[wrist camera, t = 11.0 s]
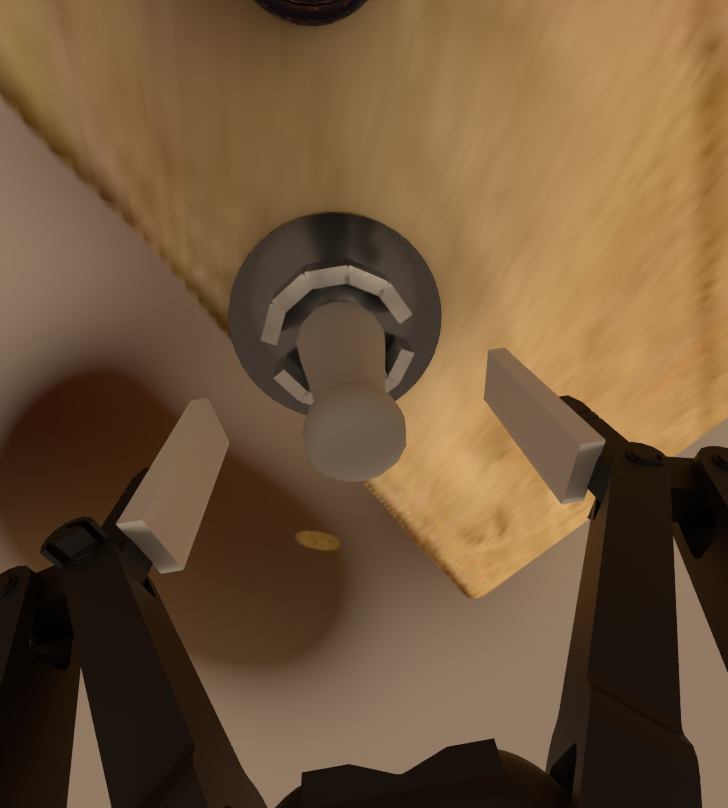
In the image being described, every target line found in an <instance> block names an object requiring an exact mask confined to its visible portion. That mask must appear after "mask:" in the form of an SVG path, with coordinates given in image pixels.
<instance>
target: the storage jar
mask: <svg viewBox="0 0 728 808" xmlns="http://www.w3.org/2000/svg"><path fill="white" fill-rule="evenodd" d="M253 1H254V2H256V3H257V4H258V5H259V6H261V7H262V8H263V9H265V10H266V11H267V12H269V13H271V14H273V15H275V16H277V17H279V18H280V19H282V20H285V21H288V22H292V23H295V24H298V25H308V26H319V25H325V24H331V23H334V22H336V21H339V20H341V19H344V18H346V17H347V16H349V15H350V14H352V13H353V12H355V11H356V10H358V9H359V8H360V7H361V6H362V5H363V4H364V3H365V2H366V1H367V0H253Z"/></svg>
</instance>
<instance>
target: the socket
mask: <svg viewBox="0 0 728 808" xmlns="http://www.w3.org/2000/svg"><path fill="white" fill-rule="evenodd" d="M332 301H349V302H356V303H358V304H359V305H361V306H362V307H364V308H366V309H367V310H369V311H370V312H372V313H373V314H374V315H375V317H376V318H377V320H378V321H379V323H380V325H381V326H382V328H383V329H384V335H385V391H386V392H387V393H389V394H390V395H391V397H392V398H393V399H394V401H396V400H397V399H399V398H400V397H401V396H402V395H404V394H405V393H406V392H407V391H408V390H409V389H410V388H411V387H412V386H413V385H414V384H415V383H416V382H417V381H418V380H419V378H420V377H421V376H422V375H423V373H424V372H425V370H426V368H427V367H428V365H429V363H430V361H431V359H432V357H433V355H434V353H435V349H436V346H437V343H438V340H439V334H440V329H441V304H440V298H439V293H438V289H437V286H436V283H435V280H434V278H433V275H432V273H431V271H430V269H429V268H428V266H427V264H426V262H425V261H424V259H423V258H422V257H421V255H420V254H419V253H418V251H417V250H416V249H415V248H414V247H413V246H412V245H411V244H410V243H409V242H408V241H407V240H406V239H405V238H403V237H402V236H401V235H400V234H398V233H397V232H396V231H394V230H392V229H391V228H389V227H387V226H385V225H383V224H382V223H380V222H378V221H375V220H373V219H370V218H367V217H365V216H360V215H356V214H351V213H342V212H326V213H316V214H312V215H308V216H304V217H300V218H298V219H295V220H293V221H291V222H288V223H286V224H284V225H283V226H281V227H279V228H278V229H276V230H274V231H273V232H272V233H270V234H269V235H268V236H267V237H266V238H264V239H263V240H262V241H261V242H260V243H259V244H258V245H257V246H256V247H255V248H254V249H253V251H252V252H251V253H250V254H249V255H248V257H247V258H246V260H245V261H244V263H243V265H242V266H241V268H240V270H239V272H238V274H237V277H236V279H235V281H234V285H233V288H232V292H231V296H230V303H229V328H230V334H231V339H232V342H233V346H234V349H235V352H236V354H237V356H238V358H239V360H240V363H241V364H242V366H243V368H244V369H245V371H246V372H247V374H248V375H249V376H250V378H251V379H252V380H253V381H254V383H255V384H256V385H257V386H258V387H259V388H260V389H261V390H262V391H263V392H264V393H266V394H267V395H268V396H270V397H271V398H272V399H274V400H275V401H277V402H278V403H280V404H282V405H283V406H285V407H287V408H290V409H292V410H294V411H296V412H299V413H303V414H306V415H307V414H308V411H309V408H310V406H311V404H312V403H313V402H314V400H313V397H312V394H311V391H310V387H309V384H308V381H307V378H306V375H305V372H304V369H303V367H302V364H301V361H300V357H299V353H298V349H297V345H296V341H297V337H298V334H299V331H300V327H301V324H302V323H303V322H304V320H305V319H306V318H307V317H308V316H309V315H310V314H311V312H312V311H313V310H314V309H315V308H316V307H318V306H321V305H324V304H327V303H330V302H332Z"/></svg>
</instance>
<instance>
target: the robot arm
mask: <svg viewBox="0 0 728 808" xmlns="http://www.w3.org/2000/svg"><path fill="white" fill-rule="evenodd" d="M484 400H485V401H486V403H487V404H488V405H489V407H490V408H491V409H492V411H493V412H494V414H495V415H496V416H497V418H498V419H499V420H500V422H501V423H502V424H503V426H504V427H505V428H506V430H507V431H508V432H509V434H510V435H511V437H512V438H513V439H514V441H515V442H516V443H517V445H518V446H519V447H520V449H521V450H522V451H523V453H524V454H525V456H526V457H527V458H528V460H529V461H530V462H531V464H532V465H533V466H534V468H535V469H536V470H537V472H538V473H539V475H540V476H541V477H542V479H543V480H544V481H545V483H546V484H547V485H548V487H549V488H550V489H551V491H552V492H553V494H554V495H555V496H556V498H557V499H558V500H559V502H560V503H561V504H567V503H572V502H578V501H583V500H584V498H585V495H586V492H587V490H588V489H589V490H590V491H591V493H592V494H593V495H594V496H595V497H596V498H595V501H594V503H593V506H592V508H591V511H590V513H589V516H588V519H591V521H590V526H589V533H588V539H587V545H586V551H585V557H584V564H583V569H582V575H581V581H580V587H579V593H578V600H577V605H576V612H575V618H574V624H573V630H572V636H571V643H570V648H569V654H568V660H567V666H566V672H565V678H564V684H563V691H562V697H561V704H560V709H559V714H558V719H557V723H556V726H555V729H554V732H553V735H552V740H551V744H550V749H549V754H548V759H547V765H546V771H545V772H544V771H543V770H542V769H540V768H539V767H537V766H536V765H534V764H533V763H531V762H529V761H527V760H526V759H524V758H522V757H520V756H518V755H515V754H512V753H510V752H507V751H503V750H499V749H497V746H496V743H495V740H494V739H488V740H482V741H477V742H471V743H466V744H460V745H454V746H449V747H446V748H444V749H443V750H441V751H439V752H438V753H437V754H435V755H433V756H432V757H430V758H428V759H426V760H425V761H423V762H422V763H420V764H418V765H417V766H415V767H413V768H412V769H410V770H409V771H407V772H405V773H403V774H392V773H387V772H383V771H378V770H374V769H369V768H364V767H360V766H355V765H350V764H347V765H342V766H337V767H331V768H325V769H319V770H314V771H308V772H302V782H301V786H299V787H298V788H296V789H295V790H294V791H292V792H291V793H290V794H289V795H287V796H286V797H285V798H284V799H283V800H282V801H281V802H280V803H279V804H278V805H277V806H276V807H275V808H702V800H701V785H700V774H699V766H698V760H697V756H696V753H695V750H694V747H693V745H692V744H691V743H690V742H689V740H688V739H687V738H686V737H685V735H684V733H683V730H682V723H681V708H680V685H679V662H678V639H677V616H676V593H675V572H674V571H675V570H674V548H673V536H674V539H675V541H676V544H677V546H678V549H679V551H680V554H681V556H682V559H683V561H684V564H685V566H686V569H687V571H688V574H689V576H690V579H691V581H692V584H693V586H694V589H695V592H696V594H697V597H698V599H699V602H700V604H701V606H702V609H703V611H704V614H705V617H706V619H707V621H708V624H709V627H710V629H711V632H712V634H713V637H714V639H715V642H716V644H717V647H718V649H719V652H720V654H721V657H722V659H723V662H724V664H725V667H726V669H727V672H728V448H724V447H719V446H708V447H704V448H701V449H700V451H699V452H698V453H697V455H696V457H695V458H679V457H666V456H665V455H664V454H663V453H662V452H661V451H659V450H657V449H655V448H654V447H651V446H648V445H645V444H642V443H636V442H628V441H627V440H626V439H625V438H624V437H622V436H621V435H620V434H619V433H618V432H617V431H615V430H614V429H613V428H612V427H611V426H609V425H608V424H607V423H606V422H605V421H604V420H602V419H601V418H599V416H598V415H597V414H595V413H594V412H591V409H590V408H588V407H587V406H586V405H585V404H584V403H582V402H581V401H579V400H577V399H575V398H573V397H570V396H568V395H566V396H561V397H558V396H557V395H556V394H555V393H554V392H553V391H552V390H550V389H549V388H548V387H547V386H546V385H545V384H544V383H543V382H542V381H541V380H539V379H538V378H537V377H536V376H535V375H534V374H533V373H532V372H531V371H530V370H529V369H527V368H526V367H525V366H524V365H523V364H522V363H521V362H520V361H519V360H518V359H517V358H515V357H514V356H513V355H512V354H511V353H510V352H509V351H508V350H507V349H506V348H499V349H493V350H488V359H487V371H486V382H485V394H484ZM228 445H229V441H228V439H227V437H226V435H225V432H224V430H223V428H222V426H221V424H220V423H219V420H218V418H217V416H216V414H215V412H214V410H213V408H212V406H211V404H210V402H209V400H208V398H203V399H197V400H192V401H190V403H189V405H188V406H187V408H186V410H185V412H184V413H183V415H182V416H181V418H180V420H179V421H178V423H177V425H176V426H175V428H174V429H173V431H172V433H171V434H170V436H169V438H168V439H167V441H166V443H165V444H164V446H163V448H162V449H161V451H160V452H159V454H158V456H157V457H156V459H155V461H154V462H153V464H152V466H151V467H149V468H144V469H143V470H141V471H140V473H138V474H137V475H136V476H135V477H134V478H133V479H132V480H131V482H130V484H129V485H128V486H127V488H126V489H125V492H124V493H123V494H122V496H121V497H120V499H119V502H117V503H116V505H115V506H114V508H113V510H112V511H111V513H110V514H109V516H108V517H107V519H106V520H105V522H104V524H103V525H102V527H100V526H99V525H98V524H97V523H96V522H95V521H94V520H93V519H92V518H91V517H81V518H77V519H74V520H72V521H69V522H67V523H65V524H64V525H62V526H61V527H59V528H58V529H57V530H55V531H54V532H53V533H52V534H51V535H50V536H49V537H48V538H47V539H46V540H45V542H44V543H43V545H42V547H41V551H40V553H41V554H42V555H43V556H44V557H46V558H47V559H48V560H49V561H51V562H52V563H53V564H54V566H51V567H49V568H47V569H44V570H42V571H40V572H37V573H35V572H34V571H33V570H31V569H30V568H29V567H27V566H17V567H14V568H11V569H8V570H7V571H5V572H3V573H1V574H0V808H67V797H68V788H69V777H70V768H71V758H72V748H73V739H74V729H75V719H76V709H77V699H78V688H79V679H80V669H82V673H83V678H84V683H85V687H86V692H87V696H88V701H89V705H90V710H91V715H92V719H93V724H94V729H95V733H96V738H97V742H98V747H99V751H100V756H101V761H102V765H103V770H104V775H105V779H106V784H107V788H108V793H109V798H110V802H111V807H112V808H267V806H266V804H265V802H264V800H263V798H262V797H261V795H260V793H259V792H258V790H257V789H256V787H255V786H254V784H253V783H252V782H251V781H250V779H249V778H248V777H247V775H246V774H245V772H244V770H243V768H242V766H241V764H240V762H239V760H238V758H237V756H236V754H235V752H234V750H233V748H232V746H231V743H230V741H229V739H228V737H227V735H226V733H225V731H224V729H223V727H222V725H221V723H220V720H219V718H218V716H217V714H216V712H215V710H214V708H213V706H212V704H211V702H210V700H209V698H208V695H207V693H206V691H205V689H204V687H203V685H202V683H201V681H200V679H199V677H198V675H197V673H196V670H195V668H194V666H193V664H192V662H191V660H190V658H189V656H188V654H187V652H186V650H185V648H184V645H183V643H182V641H181V639H180V637H179V635H178V633H177V631H176V629H175V627H174V625H173V623H172V620H171V619H170V616H169V615H168V612H167V610H166V608H165V606H164V604H163V602H162V600H161V598H160V595H159V593H158V591H157V589H156V587H155V585H154V583H153V581H152V580H151V579H150V578H149V577H148V573H149V571H150V569H151V566H152V564H153V565H154V566H155V567H156V569H157V570H158V571H160V573H167V572H173V571H179V570H183V569H184V567H185V564H186V561H187V558H188V556H189V553H190V550H191V547H192V544H193V542H194V539H195V536H196V533H197V531H198V528H199V525H200V522H201V519H202V517H203V514H204V511H205V509H206V506H207V503H208V500H209V498H210V495H211V492H212V489H213V486H214V484H215V481H216V478H217V476H218V473H219V470H220V467H221V464H222V461H223V459H224V456H225V453H226V451H227V448H228Z"/></svg>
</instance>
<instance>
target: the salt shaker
mask: <svg viewBox="0 0 728 808" xmlns="http://www.w3.org/2000/svg"><path fill="white" fill-rule="evenodd" d="M296 345H297V349H298V353H299V357H300V361H301V364H302V367H303V369H304V372H305V375H306V378H307V381H308V384H309V387H310V391H311V394H312V397H313V400H314V402H313V403H312V404H311V406H310V408H309V411H308V414H307V417H306V420H305V423H304V427H303V432H302V434H303V439H304V444H305V447H306V451H307V454H308V458H309V461H310V462H311V463H312V464H313V465H314V466H315V467H316V468H317V469H318V470H319V471H320V472H321V473H322V474H324V475H327V476H330V477H333V478H336V479H338V480H341V481H365V480H368V479H371V478H374V477H377V476H380V475H381V474H383V473H384V472H385V471H386V470H388V469H389V468H390V467H392V466H393V465H394V464H396V463H397V462H398V460H399V458H400V456H401V454H402V453H403V451H404V449H405V447H406V429H405V418H404V415H403V413H402V411H401V409H400V408H399V406H398V405H397V404H396V402H395V401H394V399H393V398H392V397H391V395H390V394H389V393H387V392H386V391H385V335H384V329H383V328H382V326H381V325H380V323H379V321H378V320H377V318H376V317H375V315H374V314H373V313H372V312H370V311H369V310H367V309H366V308H364V307H362V306H361V305H359V304H358V303H356V302H349V301H332V302H330V303H327V304H324V305H321V306H318V307H316V308H315V309H314V310H313V311H312V312H311V314H310V315H309V316H308V317H307V318H306V319H305V320H304V322H303V323H302V324H301V327H300V331H299V334H298V337H297V341H296Z"/></svg>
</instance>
